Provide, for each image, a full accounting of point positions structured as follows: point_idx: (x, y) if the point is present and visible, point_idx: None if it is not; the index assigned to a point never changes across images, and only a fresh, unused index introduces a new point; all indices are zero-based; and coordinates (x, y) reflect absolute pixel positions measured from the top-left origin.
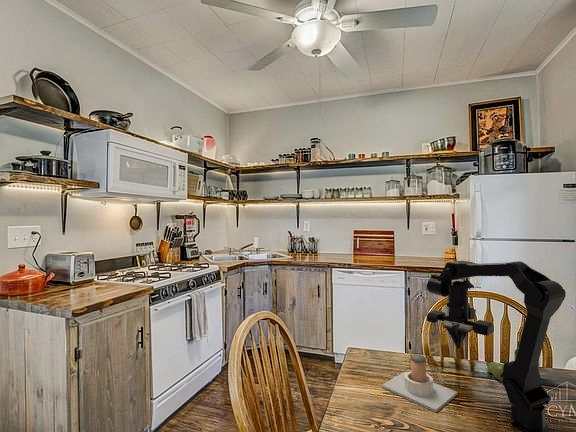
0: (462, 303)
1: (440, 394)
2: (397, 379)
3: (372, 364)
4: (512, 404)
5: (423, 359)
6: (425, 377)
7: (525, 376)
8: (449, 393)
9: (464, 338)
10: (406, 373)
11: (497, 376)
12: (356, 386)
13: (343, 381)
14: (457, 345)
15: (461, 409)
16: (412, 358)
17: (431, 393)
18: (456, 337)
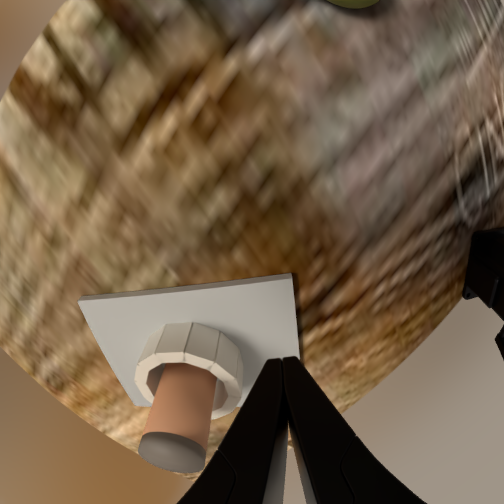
0: None
1: (262, 340)
2: (119, 360)
3: (17, 320)
4: (492, 303)
5: (200, 464)
6: (212, 396)
7: None
8: (278, 311)
9: (358, 439)
10: (144, 393)
11: (342, 5)
12: (116, 423)
13: (90, 421)
14: (287, 417)
15: (344, 338)
16: (170, 469)
17: (241, 359)
18: (278, 494)
